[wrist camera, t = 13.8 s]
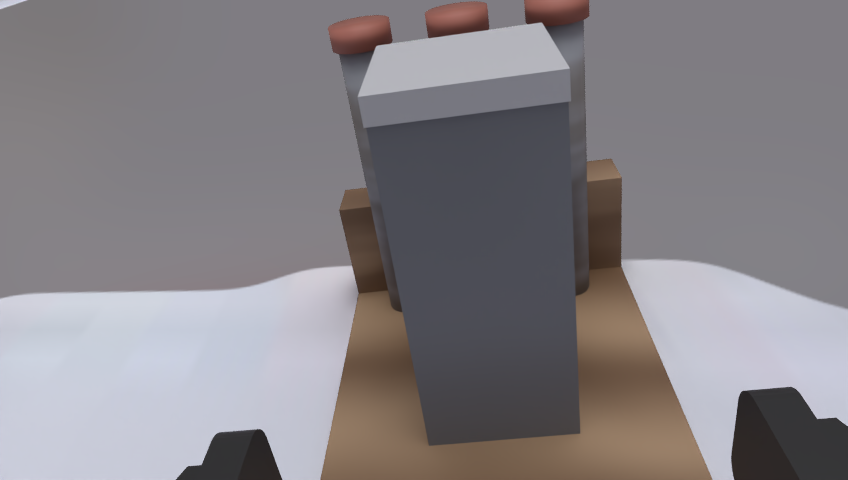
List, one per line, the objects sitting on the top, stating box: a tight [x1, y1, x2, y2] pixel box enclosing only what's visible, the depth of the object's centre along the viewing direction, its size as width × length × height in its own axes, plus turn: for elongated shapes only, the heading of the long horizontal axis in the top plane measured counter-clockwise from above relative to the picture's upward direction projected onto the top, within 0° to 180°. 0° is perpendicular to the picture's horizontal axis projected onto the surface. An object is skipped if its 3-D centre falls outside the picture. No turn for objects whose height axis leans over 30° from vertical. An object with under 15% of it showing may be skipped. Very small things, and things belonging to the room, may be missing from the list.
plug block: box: [358, 22, 580, 446], centre depth 21 cm, size 5×5×12 cm
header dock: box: [321, 0, 712, 480], centre depth 22 cm, size 16×12×13 cm
